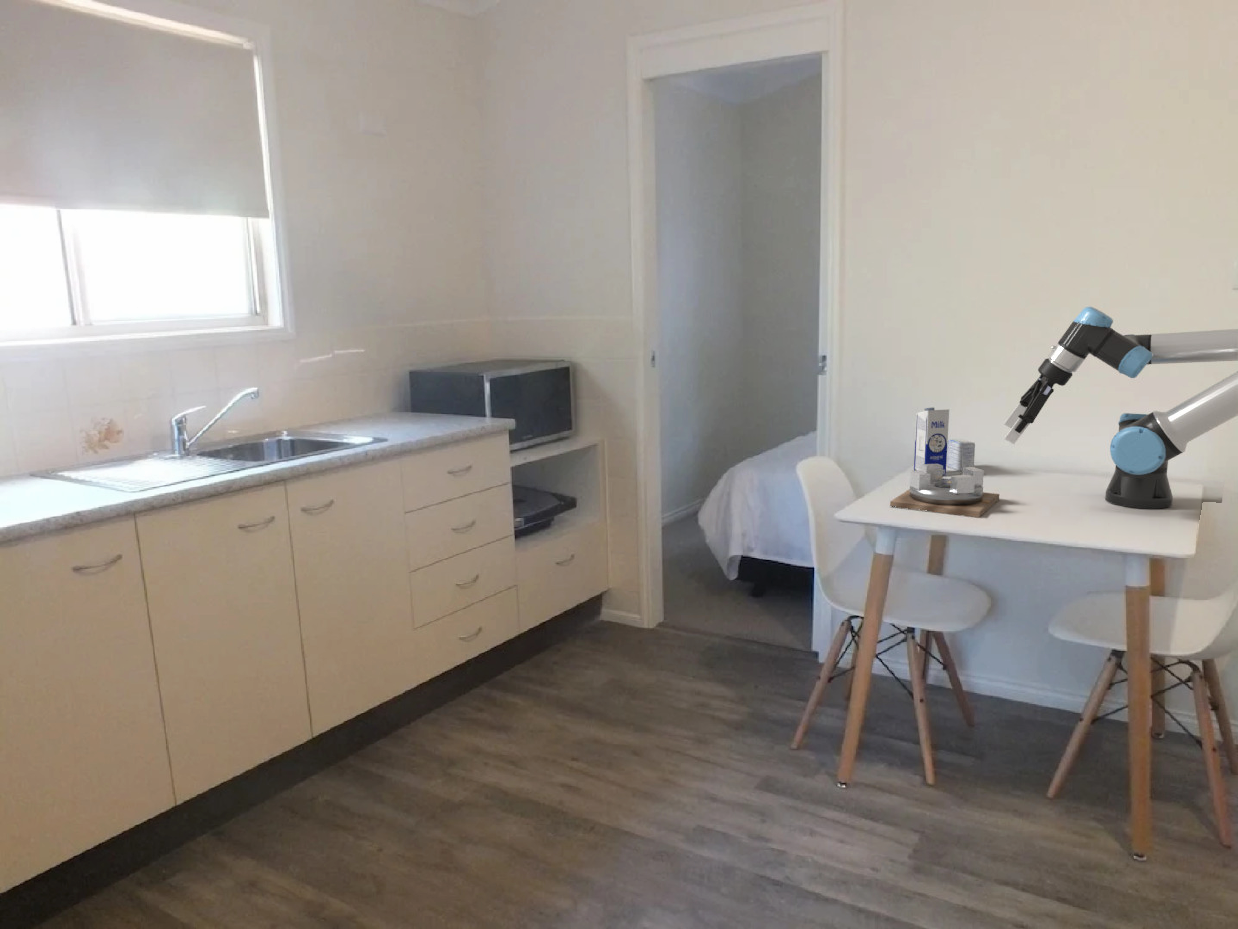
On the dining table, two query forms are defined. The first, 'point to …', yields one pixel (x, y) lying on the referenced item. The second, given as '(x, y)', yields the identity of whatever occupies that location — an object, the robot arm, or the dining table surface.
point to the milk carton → (931, 438)
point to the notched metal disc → (946, 486)
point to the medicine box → (960, 454)
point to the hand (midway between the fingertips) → (1008, 433)
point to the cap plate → (966, 510)
